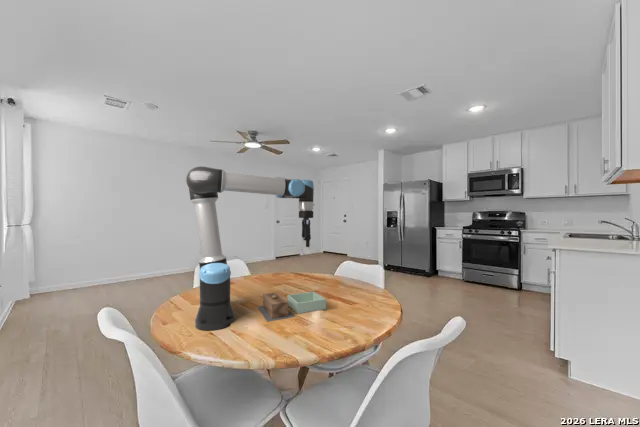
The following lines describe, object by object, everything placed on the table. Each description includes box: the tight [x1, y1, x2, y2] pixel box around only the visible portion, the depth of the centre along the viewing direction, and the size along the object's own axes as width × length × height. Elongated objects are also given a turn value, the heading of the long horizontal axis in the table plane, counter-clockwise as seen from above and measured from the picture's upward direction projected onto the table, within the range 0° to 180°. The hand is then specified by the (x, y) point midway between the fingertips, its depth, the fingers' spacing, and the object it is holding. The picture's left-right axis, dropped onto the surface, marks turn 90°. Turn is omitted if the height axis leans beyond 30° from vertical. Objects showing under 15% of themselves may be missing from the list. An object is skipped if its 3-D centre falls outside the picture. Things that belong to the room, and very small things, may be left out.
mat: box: [256, 305, 296, 323], centre depth 122 cm, size 12×20×1 cm, turn 25°
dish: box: [286, 291, 327, 315], centre depth 129 cm, size 14×14×5 cm
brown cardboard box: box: [262, 292, 289, 319], centre depth 122 cm, size 7×16×7 cm, turn 25°
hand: (305, 251), depth 140 cm, fingers open, 13 cm apart
